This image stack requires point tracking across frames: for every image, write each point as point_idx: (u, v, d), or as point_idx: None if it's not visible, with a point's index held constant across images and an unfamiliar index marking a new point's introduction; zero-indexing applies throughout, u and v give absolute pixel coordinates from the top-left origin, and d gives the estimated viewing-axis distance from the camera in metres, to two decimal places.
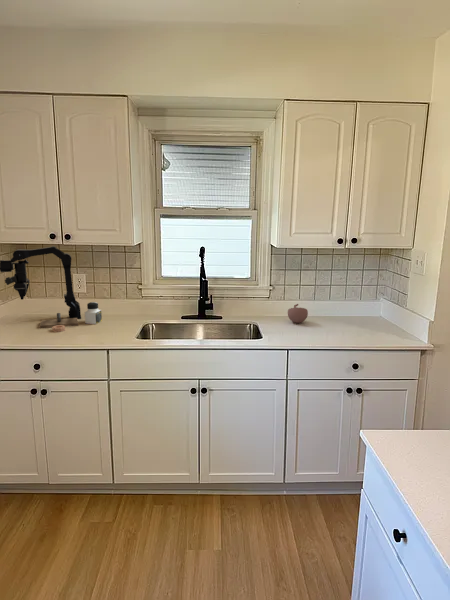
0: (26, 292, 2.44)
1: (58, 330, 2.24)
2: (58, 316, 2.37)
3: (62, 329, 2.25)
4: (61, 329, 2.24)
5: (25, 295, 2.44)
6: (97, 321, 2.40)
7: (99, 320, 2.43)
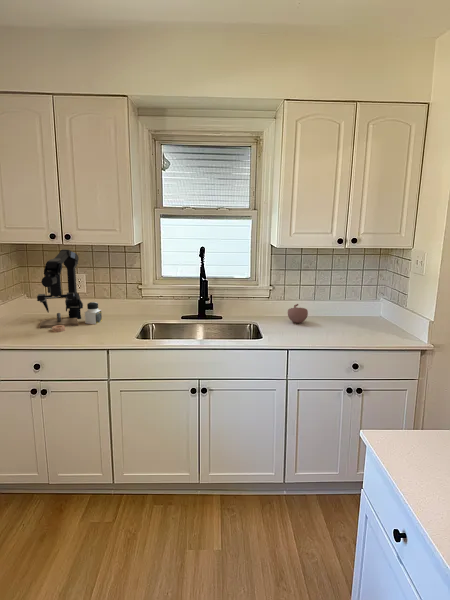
0: (66, 308, 2.25)
1: (58, 330, 2.24)
2: (58, 316, 2.37)
3: (62, 329, 2.25)
4: (61, 329, 2.24)
5: (66, 310, 2.25)
6: (97, 321, 2.40)
7: (99, 320, 2.43)
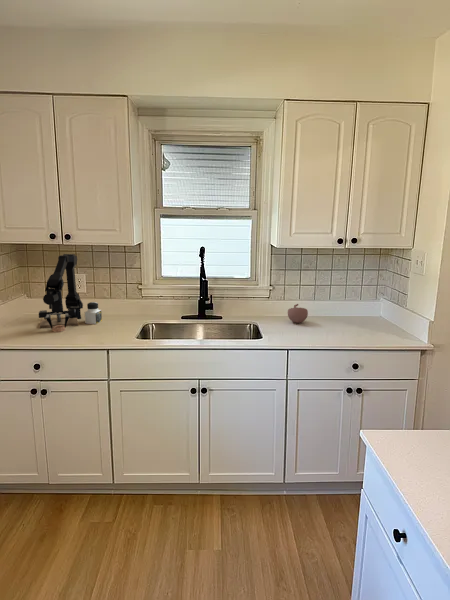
0: (65, 324, 2.26)
1: (58, 330, 2.24)
2: (58, 316, 2.37)
3: (62, 329, 2.25)
4: (61, 329, 2.24)
5: None
6: (97, 321, 2.40)
7: (99, 320, 2.43)
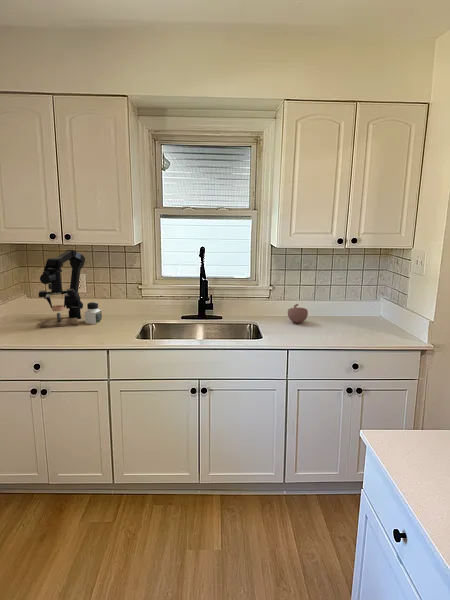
0: (64, 304, 2.33)
1: (58, 309, 2.30)
2: (58, 316, 2.37)
3: (62, 308, 2.32)
4: (61, 308, 2.31)
5: (64, 306, 2.34)
6: (97, 321, 2.40)
7: (99, 320, 2.43)
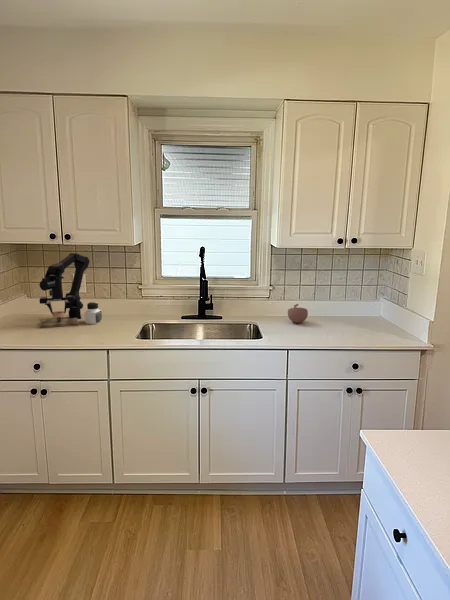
0: (65, 310, 2.37)
1: (58, 315, 2.34)
2: None
3: (62, 315, 2.36)
4: (61, 315, 2.35)
5: (64, 312, 2.38)
6: (97, 321, 2.40)
7: (99, 320, 2.43)
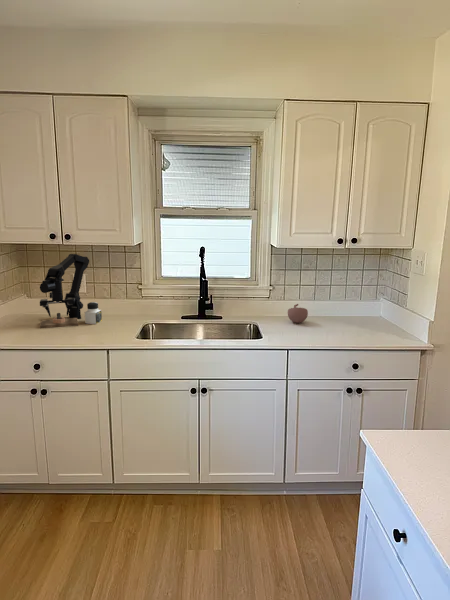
0: (67, 312, 2.38)
1: (58, 321, 2.35)
2: (58, 316, 2.37)
3: (62, 320, 2.36)
4: (61, 320, 2.36)
5: None
6: (97, 321, 2.40)
7: (99, 320, 2.43)
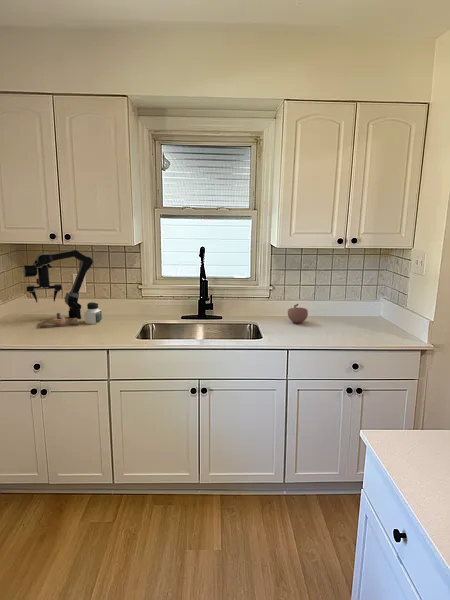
0: (54, 298, 2.41)
1: (58, 321, 2.35)
2: (58, 316, 2.37)
3: (62, 320, 2.36)
4: (61, 320, 2.36)
5: None
6: (97, 321, 2.40)
7: (99, 320, 2.43)
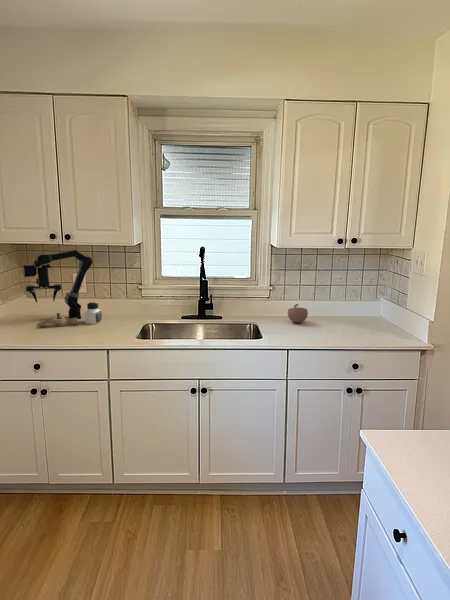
0: (54, 298, 2.41)
1: (58, 321, 2.35)
2: (58, 316, 2.37)
3: (62, 320, 2.36)
4: (61, 320, 2.36)
5: (53, 300, 2.42)
6: (97, 321, 2.40)
7: (99, 320, 2.43)
